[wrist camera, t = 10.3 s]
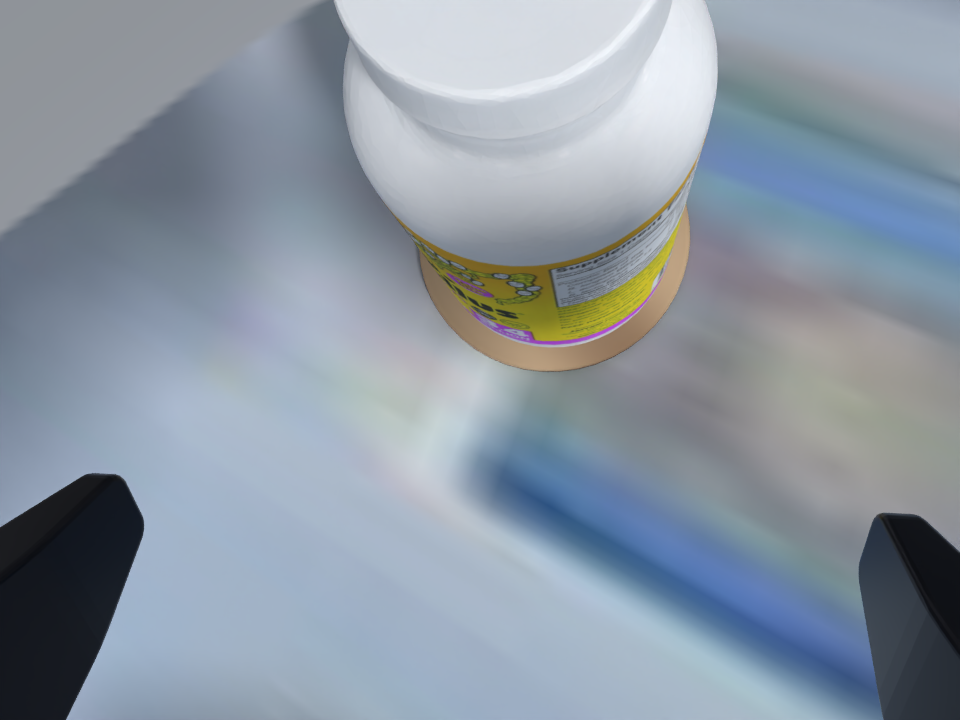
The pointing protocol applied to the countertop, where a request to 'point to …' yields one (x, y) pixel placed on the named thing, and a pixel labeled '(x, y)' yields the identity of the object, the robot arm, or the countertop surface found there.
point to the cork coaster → (571, 355)
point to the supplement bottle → (534, 147)
